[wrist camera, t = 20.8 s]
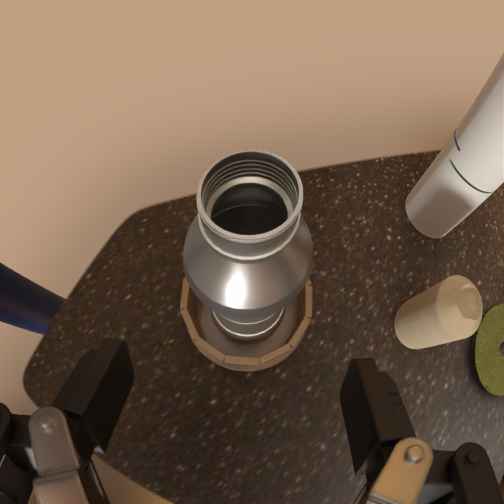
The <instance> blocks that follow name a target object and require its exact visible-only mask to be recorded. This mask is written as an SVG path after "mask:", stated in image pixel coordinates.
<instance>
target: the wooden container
mask: <svg viewBox="0 0 504 504" xmlns="http://www.w3.org/2000/svg"><path fill="white" fill-rule="evenodd" d="M500 491H501V494H502V498H503V501H504V477H503V480H502V482H501V485H500Z"/></svg>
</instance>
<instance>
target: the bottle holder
mask: <svg viewBox="0 0 504 504" xmlns="http://www.w3.org/2000/svg"><path fill="white" fill-rule="evenodd" d="M185 276H186V275H185ZM311 284H312V283H311V281H310V279H309V278H308V280H307V282H306V284H305V285H304V287H303V289H302V290H301V292H300V293H299V294H298V295H297V296H296V297H295V298H294V299H293V300H292V301H291V302H290V303H289V304H288V305H287V306H286V311H285V315H284V318H283V320H282V322H281V324H280V325H279V327H278V328H277V329H276V330H275V331H274V332H273V333H272V334H271V335H269V336H268V337H266V338H264V339H262V340H259V341H256V342H239V341H235V340H232V339H230V338H228V337H227V336H225V335H224V334H222V332H221V331H220V330H219V329H218V328H217V327H216V325H215V323H214V322H213V319H212V316H211V310H210V308H209V307H208V306H206V305H205V304H204V303H203V302H202V301H201V300H200V299H199V298H198V297H197V296H196V295H195V293H194V292H193V290H192V289H191V287H190V285H189V283H188V282H187V278H186V277H184V280H183V287H182V294H181V302H180V309H181V310H180V312H181V314H182V316H183V319H184V321H185V325H186V328H187V331H188V334H189V336H190V338H191V340H192V342H193V343H194V344H195V346H196V347H197V349H198V350H199V351H200V352H201V353H202V354H203V355H204V356H206V357H207V358H208V359H209V360H211V361H212V362H214V363H216V364H218V365H220V366H222V367H224V368H228V369H231V370H236V371H258V370H263V369H266V368H269V367H272V366H274V365H276V364H278V363H280V362H281V361H283V360H284V359H286V358H287V357H288V356H289V355H291V353H292V352H293V351H294V350H295V349H296V348H297V347H298V345H299V344H300V343H301V341H302V339H303V337H304V335H305V333H306V330H307V328H308V325H309V323H310V321H311V318H312V292H313V287H312V286H311Z"/></svg>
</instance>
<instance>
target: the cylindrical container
mask: <svg viewBox="0 0 504 504" xmlns="http://www.w3.org/2000/svg"><path fill="white" fill-rule="evenodd" d="M503 182H504V53H503V55H502V57H501V59H500V61H499V62H498V64H497V66H496V67H495V69H494V71H493V72H492V74H491V76H490V77H489V79H488V81H487V82H486V84H485V86H484V87H483V89H482V90H481V92H480V94H479V95H478V97H477V98H476V100H475V101H474V103H473V105H472V106H471V108H470V109H469V111H468V112H467V114H466V115H465V117H464V118H463V120H462V121H461V123H460V125H459V126H458V128H457V129H456V130H455V132H454V133H453V135H452V136H451V138H450V139H449V140H448V142H447V143H446V145H445V146H444V147H443V149H442V150H441V152H440V153H439V154H438V156H437V157H436V158H435V160H434V161H433V162H432V164H431V165H430V167H429V168H428V169H427V171H426V172H425V173H424V175H423V176H422V177H421V179H420V180H419V181H418V183H417V184H416V185H415V187H414V188H413V189H412V191H411V192H410V193H409V194H408V196H407V198H406V202H405V208H406V213H407V215H408V218H409V220H410V222H411V223H412V225H413V226H414V227H415V228H416V229H417V230H418V231H419V232H420V233H422V234H423V235H425V236H427V237H430V238H436V239H437V238H441V237H443V236H445V235H446V234H447V233H448V232H450V231H451V230H452V229H453V228H454V227H455V226H457V225H458V224H459V223H460V222H461V221H462V220H463V219H465V218H466V217H467V216H468V215H469V214H470V213H471V212H472V211H474V210H475V209H476V208H477V207H478V206H479V205H480V204H481V203H482V202H483V201H484V200H486V199H487V198H488V197H489V196H490V195H491V194H492V193H493V192H494V191H495V190H496V189H497V188H498V187H499V186H500V185H501V184H502V183H503Z"/></svg>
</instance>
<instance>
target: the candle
mask: <svg viewBox="0 0 504 504" xmlns="http://www.w3.org/2000/svg"><path fill="white" fill-rule="evenodd" d="M482 312H483V307H482V300H481V296H480V294H479V292H478V290H477V288H476V287H475V285H474V284H473V283H472V282H471V281H470V280H469V279H467V278H466V277H463V276H460V275H454V276H451V277H449V278H447V279H445V280H443V281H442V282H440V283H438V284H436V285H435V286H433V287H431V288H429V289H428V290H426V291H424V292H422V293H420V294H419V295H417V296H415V297H413V298H411V299H409V300H408V301H406V302H405V303H403V304H402V305H401V306H400V307H399V309H398V311H397V313H396V315H395V320H394V328H395V333H396V335H397V337H398V339H399V341H400V342H401V343H402V344H403V345H404V346H406V347H408V348H411V349H422V348H427V347H431V346H436V345H440V344H444V343H448V342H452V341H456V340H460V339H464V338H467V337H470V336H471V335H473V334H474V333H475V332H476V330H477V329H478V327H479V325H480V322H481V319H482Z"/></svg>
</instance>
